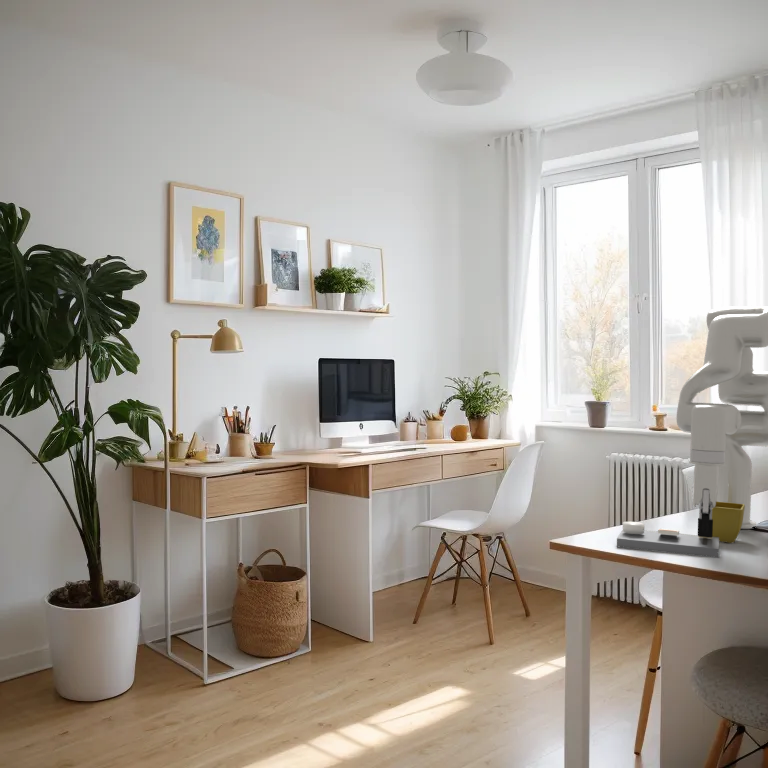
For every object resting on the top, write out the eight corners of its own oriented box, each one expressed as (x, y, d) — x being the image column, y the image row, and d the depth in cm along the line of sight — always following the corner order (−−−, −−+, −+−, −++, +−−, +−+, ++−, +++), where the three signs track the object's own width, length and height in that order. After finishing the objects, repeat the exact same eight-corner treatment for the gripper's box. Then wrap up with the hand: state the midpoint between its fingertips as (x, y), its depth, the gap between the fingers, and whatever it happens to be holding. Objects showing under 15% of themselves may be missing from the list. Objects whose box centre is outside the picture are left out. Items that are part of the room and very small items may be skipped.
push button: (623, 529, 190) (624, 520, 190) (645, 531, 188) (645, 522, 188) (621, 532, 185) (621, 524, 185) (643, 534, 183) (643, 526, 183)
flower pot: (741, 546, 185) (742, 508, 185) (702, 541, 189) (703, 505, 189) (744, 539, 193) (745, 504, 193) (706, 535, 197) (707, 500, 197)
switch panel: (623, 535, 194) (623, 525, 194) (718, 545, 185) (719, 534, 185) (616, 546, 181) (616, 535, 181) (718, 557, 172) (719, 546, 172)
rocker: (659, 531, 187) (659, 528, 187) (679, 533, 185) (679, 530, 185) (657, 533, 181) (658, 529, 181) (677, 535, 179) (678, 531, 180)
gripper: (691, 454, 188) (689, 529, 188) (688, 459, 174) (686, 540, 175) (724, 456, 185) (722, 532, 185) (725, 461, 171) (722, 544, 172)
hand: (705, 536), depth 180 cm, fingers closed
